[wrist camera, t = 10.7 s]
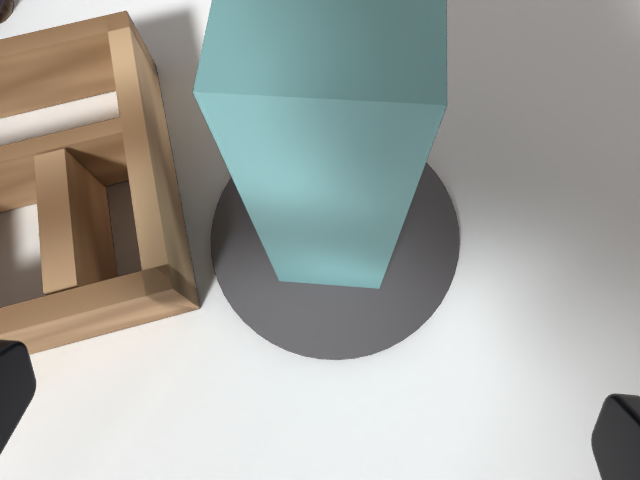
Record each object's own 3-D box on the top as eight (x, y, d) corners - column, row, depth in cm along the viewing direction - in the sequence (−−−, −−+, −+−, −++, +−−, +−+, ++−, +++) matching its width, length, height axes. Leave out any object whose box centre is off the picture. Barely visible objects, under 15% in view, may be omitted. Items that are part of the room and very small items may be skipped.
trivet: (494, 190, 18) (497, 185, 17) (389, 410, 15) (391, 410, 15) (290, 97, 19) (289, 91, 19) (166, 282, 17) (161, 280, 17)
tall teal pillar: (379, 288, 16) (446, 105, 6) (279, 280, 16) (192, 92, 6) (383, 184, 17) (446, -102, 8) (291, 179, 18) (234, -108, 8)
